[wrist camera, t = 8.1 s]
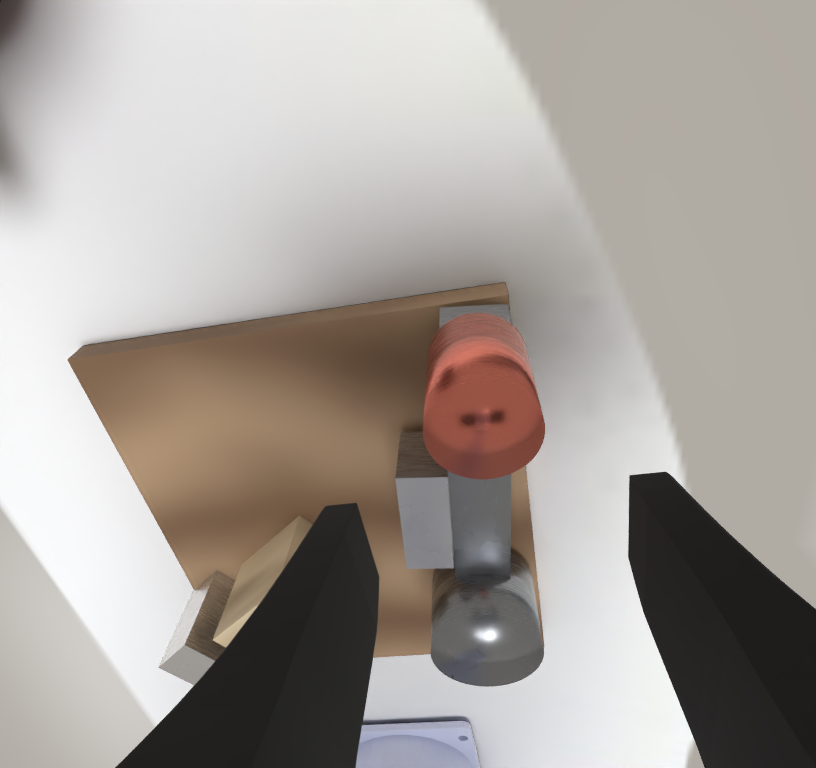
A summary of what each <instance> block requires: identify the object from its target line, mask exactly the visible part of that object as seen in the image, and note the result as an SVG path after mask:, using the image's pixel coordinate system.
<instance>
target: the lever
mask: <svg viewBox="0 0 816 768" xmlns="http://www.w3.org/2000/svg"><path fill="white" fill-rule="evenodd" d="M544 434H545V423H544V418H543V414H542V410H541V406H540V402H539V398H538V394H537V390H536V386H535V382H534V378H533V374H532V370H531V366H530V362H529V358H528V354H527V350H526V346H525V343H524V340H523V338H522V336H521V334H520V333H519V332H518V330H517V329H516V328H515V327H514V326H513V325H512V321H511V316H510V312H509V307H508V304H494V305H477V306H459V307H441V308H440V320H439V330H438V331H437V332H436V333H435V335H434V336H433V338H432V340H431V342H430V345H429V348H428V354H427V370H426V386H425V403H424V420H423V431H417V432H400V441H399V449H398V458H397V467H396V476H395V481H396V489H397V497H398V505H399V513H400V521H401V528H402V536H403V544H404V552H405V560H406V568H407V569H434V572H433V576H432V611H431V658H432V660H433V663H434V664H435V666H436V667H437V668H438V669H439V670H440V671H441V672H442V673H444V674H445V675H447V676H448V677H450V678H452V679H454V680H456V681H459V682H462V683H465V684H470V685H475V686H501V685H506V684H510V683H514V682H517V681H519V680H522V679H524V678H526V677H527V676H529V675H530V674H532V673H533V672H534V671H535V670H536V669H537V668H538V667H539V665H540V664H541V662H542V660H543V656H544V648H543V642H542V635H541V629H540V623H539V616H538V610H537V604H536V597H535V591H534V585H533V578H532V573H531V570H530V568H529V566H528V565H527V563H526V562H525V561H524V560H523V559H522V558H521V557H519V556H518V555H516V554H515V553H513V552H511V473H514V472H516V471H518V470H519V469H521V468H522V467H524V466H525V465H527V464H528V463H529V462H530V461H531V460H532V459H533V458H534V457H535V455H536V454H537V453H538V451H539V449H540V447H541V445H542V443H543V439H544ZM453 547H454V550H453Z"/></svg>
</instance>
